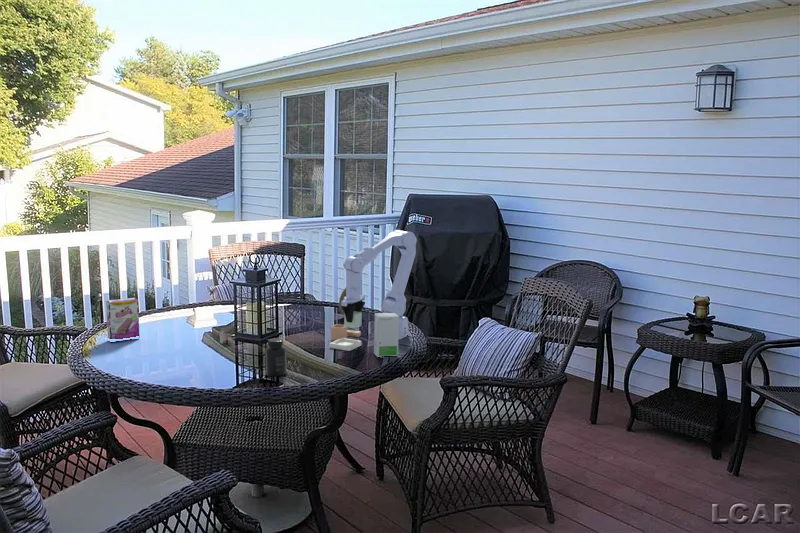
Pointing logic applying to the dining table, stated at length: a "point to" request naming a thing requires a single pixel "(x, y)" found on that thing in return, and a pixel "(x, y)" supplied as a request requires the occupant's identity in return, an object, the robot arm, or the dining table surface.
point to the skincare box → (386, 334)
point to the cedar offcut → (353, 333)
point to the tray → (345, 344)
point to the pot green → (354, 320)
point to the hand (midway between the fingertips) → (353, 320)
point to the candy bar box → (122, 318)
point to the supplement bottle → (275, 358)
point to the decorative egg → (342, 300)
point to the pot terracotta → (338, 332)
